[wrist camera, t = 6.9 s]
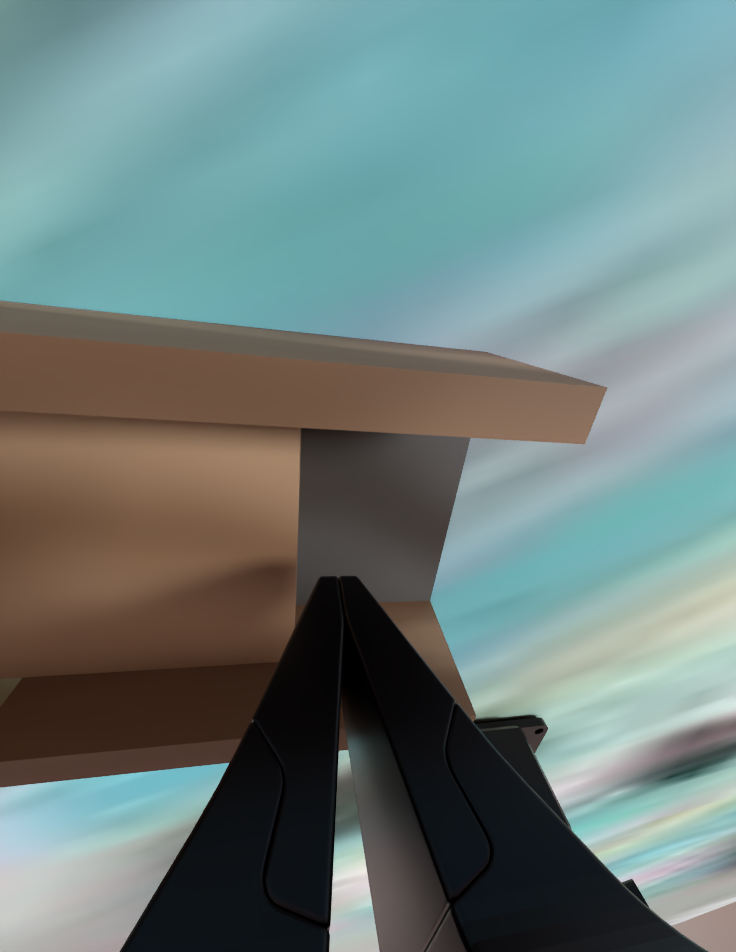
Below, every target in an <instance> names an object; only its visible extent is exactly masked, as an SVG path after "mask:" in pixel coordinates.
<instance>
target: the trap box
mask: <svg viewBox="0 0 736 952" xmlns="http://www.w3.org/2000/svg"><path fill="white" fill-rule="evenodd" d="M606 390H607V387H603V386H600V385H596V384H593V383H590V382H586V381H583V380H579V379H576V378H573V377H569V376H566V375H562V374H559V373H556V372H552V371H549V370H545V369H542V368H539V367H535V366H532V365H528V364H525V363H521V362H518V361H515V360H511V359H508V358H504V357H501V356H498V355H494V354H491V353H487V352H480V351H471V350H461V349H452V348H442V347H433V346H423V345H414V344H404V343H395V342H385V341H376V340H367V339H357V338H348V337H338V336H329V335H319V334H310V333H300V332H291V331H281V330H272V329H262V328H253V327H244V326H234V325H225V324H215V323H206V322H196V321H187V320H177V319H168V318H158V317H149V316H139V315H130V314H120V313H111V312H102V311H92V310H83V309H73V308H64V307H54V306H45V305H35V304H26V303H16V302H7V301H0V787H8V786H17V785H27V784H36V783H45V782H54V781H63V780H73V779H82V778H91V777H100V776H110V775H119V774H128V773H137V772H147V771H156V770H165V769H174V768H183V767H193V766H202V765H211V764H220V763H230V761H231V759H232V757H233V755H234V753H235V751H236V749H237V748H238V745H239V743H240V741H241V739H242V737H243V735H244V733H245V731H246V729H247V727H248V724H249V723H250V722H252V717H253V715H254V712H255V710H256V708H257V706H258V704H259V702H260V700H261V698H262V696H263V694H264V691H265V689H266V687H267V685H268V683H269V681H270V679H271V677H272V675H273V672H274V670H275V668H276V666H277V664H278V662H279V660H280V658H281V656H282V654H283V651H284V649H285V647H286V645H287V643H288V641H289V639H290V637H291V635H292V633H293V630H294V628H295V626H296V624H297V622H298V620H299V618H300V616H301V614H302V611H303V609H304V607H305V605H306V603H307V601H308V599H309V597H310V595H311V593H312V590H313V588H314V586H315V584H316V582H317V580H318V578H319V577H321V576H336V577H337V578H339V577H340V576H357V577H358V578H359V579H360V580H361V582H362V583H363V584H364V585H365V587H366V588H367V589H368V590H369V592H370V593H371V594H372V595H373V597H374V598H375V599H376V600H377V602H378V603H379V604H380V605H381V607H382V608H383V609H384V610H385V612H386V613H387V614H388V615H389V617H390V618H391V619H392V621H393V622H394V623H395V624H396V626H397V627H398V628H399V629H400V631H401V632H402V633H403V634H404V636H405V637H406V638H407V639H408V641H409V642H410V643H411V644H412V646H413V647H414V648H415V649H416V651H417V652H418V653H419V654H420V656H421V657H422V658H423V660H424V661H425V662H426V663H427V665H428V666H429V667H430V668H431V670H432V671H433V672H434V673H435V675H436V676H437V677H438V678H439V680H440V681H441V682H442V683H443V685H444V686H445V687H446V688H447V690H448V691H449V692H450V694H451V695H452V696H453V697H454V699H455V701H456V702H455V704H457V703H458V704H459V705H460V706H461V707H462V708H463V710H464V711H465V712H466V713H467V715H468V716H469V717H470V719H471V720H472V721H473V722H474V720H475V717H476V714H475V712H474V709H473V707H472V704H471V702H470V699H469V697H468V694H467V692H466V689H465V687H464V684H463V682H462V679H461V677H460V675H459V672H458V670H457V667H456V665H455V662H454V660H453V657H452V655H451V652H450V650H449V647H448V645H447V642H446V640H445V637H444V635H443V632H442V630H441V627H440V625H439V622H438V620H437V617H436V615H435V612H434V610H433V607H432V605H431V602H430V598H431V594H432V590H433V586H434V582H435V578H436V574H437V570H438V566H439V562H440V558H441V554H442V550H443V545H444V541H445V537H446V533H447V529H448V525H449V521H450V517H451V513H452V509H453V505H454V501H455V497H456V493H457V489H458V485H459V481H460V477H461V473H462V469H463V465H464V461H465V457H466V453H467V449H468V445H469V441H470V438H487V439H504V440H522V441H539V442H557V443H574V444H585V442H586V440H587V437H588V435H589V432H590V430H591V427H592V425H593V422H594V420H595V417H596V415H597V412H598V410H599V407H600V405H601V402H602V400H603V397H604V395H605V392H606ZM340 750H348V743H347V737H346V731H345V724H344V718H343V711H342V705H341V709H340V730H339V751H340Z"/></svg>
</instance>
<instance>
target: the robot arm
mask: <svg viewBox="0 0 736 952" xmlns="http://www.w3.org/2000/svg"><path fill="white" fill-rule="evenodd" d="M455 702H456V701H455V699H454V697H453V696H452V695H451V694H450V692H449V691H448V690H447V688H446V687H445V686H444V685H443V683H442V682H441V681H440V680H439V678H438V677H437V676H436V675H435V673H434V672H433V671H432V670H431V668H430V667H429V666H428V665H427V663H426V662H425V661H424V660H423V658H422V657H421V656H420V654H419V653H418V652H417V651H416V649H415V648H414V647H413V646H412V644H411V643H410V642H409V641H408V639H407V638H406V637H405V636H404V634H403V633H402V632H401V631H400V629H399V628H398V627H397V626H396V624H395V623H394V622H393V621H392V619H391V618H390V617H389V615H388V614H387V613H386V612H385V610H384V609H383V608H382V607H381V605H380V604H379V603H378V602H377V600H376V599H375V598H374V597H373V595H372V594H371V593H370V592H369V590H368V589H367V588H366V587H365V585H364V584H363V583H362V582H361V580H360V579H359V578H358V577H357V576H340V577H339V578H337V577H336V576H321V577H319V578H318V580H317V582H316V584H315V586H314V588H313V590H312V593H311V595H310V597H309V599H308V601H307V603H306V605H305V607H304V609H303V611H302V614H301V616H300V618H299V620H298V622H297V624H296V626H295V628H294V630H293V633H292V635H291V637H290V639H289V641H288V643H287V645H286V647H285V649H284V651H283V654H282V656H281V658H280V660H279V662H278V664H277V666H276V668H275V670H274V672H273V675H272V677H271V679H270V681H269V683H268V685H267V687H266V689H265V691H264V694H263V696H262V698H261V700H260V702H259V704H258V706H257V708H256V710H255V712H254V715H253V717H252V722H250V723H249V724H248V727H247V729H246V731H245V733H244V735H243V737H242V739H241V741H240V743H239V745H238V748H237V749H236V751H235V753H234V755H233V757H232V759H231V761H230V763H229V765H228V767H227V769H226V771H225V773H224V775H223V777H222V779H221V781H220V783H219V785H218V787H217V788H216V790H215V792H214V794H213V795H212V797H211V799H210V801H209V802H208V804H207V806H206V808H205V809H204V811H203V813H202V815H201V816H200V818H199V820H198V822H197V823H196V825H195V827H194V829H193V830H192V832H191V834H190V835H189V837H188V839H187V840H186V842H185V844H184V845H183V847H182V849H181V850H180V852H179V854H178V855H177V857H176V859H175V860H174V862H173V864H172V865H171V867H170V869H169V870H168V872H167V874H166V875H165V877H164V879H163V880H162V882H161V884H160V885H159V887H158V889H157V890H156V892H155V894H154V895H153V897H152V899H151V900H150V902H149V904H148V905H147V907H146V909H145V910H144V912H143V914H142V915H141V917H140V919H139V920H138V922H137V924H136V925H135V927H134V928H133V930H132V932H131V933H130V935H129V937H128V938H127V940H126V942H125V943H124V945H123V947H122V948H121V950H120V952H329V941H330V935H329V928H330V920H331V899H332V877H333V856H334V835H335V814H336V793H337V772H338V751H339V730H340V709H341V705H342V711H343V718H344V724H345V731H346V737H347V743H348V750H349V756H350V763H351V769H352V776H353V782H354V789H355V795H356V801H357V808H358V814H359V821H360V827H361V834H362V840H363V847H364V853H365V859H366V866H367V872H368V879H369V885H370V892H371V898H372V905H373V911H374V918H375V924H376V930H377V937H378V943H379V950H380V952H708V951H707V950H705V949H704V948H702V947H700V946H699V945H697V944H696V943H694V942H693V941H691V940H690V939H689V938H687V937H686V936H684V935H683V934H681V933H680V932H679V931H677V930H676V929H675V928H673V927H672V926H671V925H669V924H668V923H667V922H665V921H664V920H663V919H662V918H660V917H659V916H658V915H657V914H656V913H654V912H653V911H652V910H651V909H650V908H649V906H648V905H647V903H646V901H645V900H644V898H643V896H642V894H641V893H640V891H639V889H638V888H637V886H636V884H635V883H634V881H633V879H630V880H627V881H625V882H622V883H621V882H620V881H619V880H618V879H617V878H616V877H615V876H614V875H613V874H612V873H611V872H610V871H609V869H608V868H607V867H606V866H605V865H604V864H603V863H602V862H601V861H600V860H599V859H598V858H597V857H596V856H595V855H594V854H593V853H592V852H591V850H590V849H589V848H588V847H587V846H586V845H585V844H584V843H583V842H582V841H581V840H580V839H579V838H578V837H577V836H576V835H575V834H574V833H573V831H572V829H571V826H570V824H569V822H568V820H567V818H566V816H565V814H564V812H563V810H562V808H561V806H560V804H559V802H558V800H557V798H556V796H555V794H554V792H553V790H552V788H551V786H550V784H549V782H548V780H547V778H546V776H545V774H544V772H543V770H542V768H541V766H540V764H539V762H538V760H537V758H536V756H535V752H536V750H537V748H538V746H539V745H540V743H541V741H542V739H543V737H544V736H545V734H546V732H547V730H548V727H547V725H546V724H545V722H544V720H543V719H542V718H529V719H519V720H509V721H499V722H490V723H480V724H475V723H474V722H473V721H472V720H471V719H470V717H469V716H468V715H467V713H466V712H465V711H464V710H463V708H462V707H461V706H460V705H459V704H458V703H457V704H455Z"/></svg>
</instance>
